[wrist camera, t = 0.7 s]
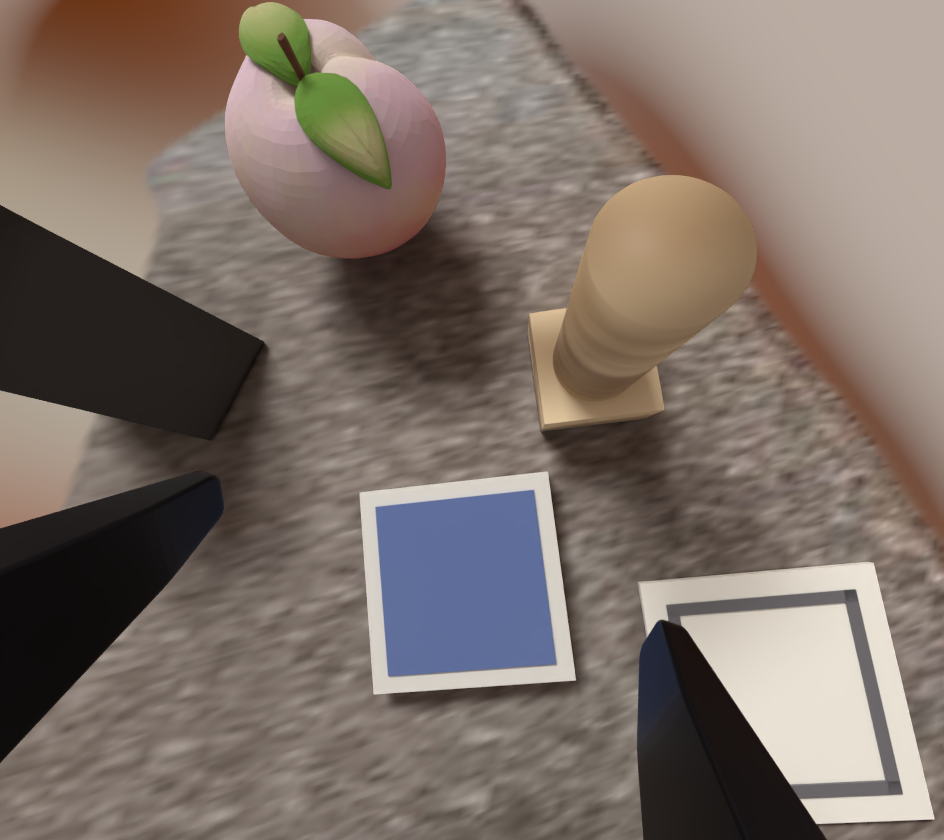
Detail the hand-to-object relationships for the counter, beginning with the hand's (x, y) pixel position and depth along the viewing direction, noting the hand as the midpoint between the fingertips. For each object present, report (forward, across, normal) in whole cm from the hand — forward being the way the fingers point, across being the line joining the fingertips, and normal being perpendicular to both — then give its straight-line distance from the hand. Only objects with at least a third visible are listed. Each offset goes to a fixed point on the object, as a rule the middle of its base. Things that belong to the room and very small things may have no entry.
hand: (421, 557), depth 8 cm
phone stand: (+12, +19, +5) cm, 23 cm away
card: (+8, -15, +10) cm, 20 cm away
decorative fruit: (+18, +10, -3) cm, 21 cm away
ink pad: (+8, 0, +10) cm, 13 cm away
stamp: (+15, -3, +1) cm, 15 cm away
